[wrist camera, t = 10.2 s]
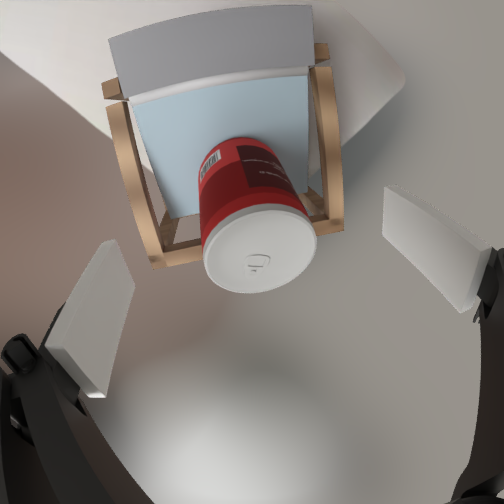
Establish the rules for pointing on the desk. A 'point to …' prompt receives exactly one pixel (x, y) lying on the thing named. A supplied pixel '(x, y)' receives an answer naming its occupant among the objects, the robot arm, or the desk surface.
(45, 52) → the desk surface
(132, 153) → the frame
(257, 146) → the canned food
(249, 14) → the trapdoor
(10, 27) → the desk surface
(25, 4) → the desk surface
